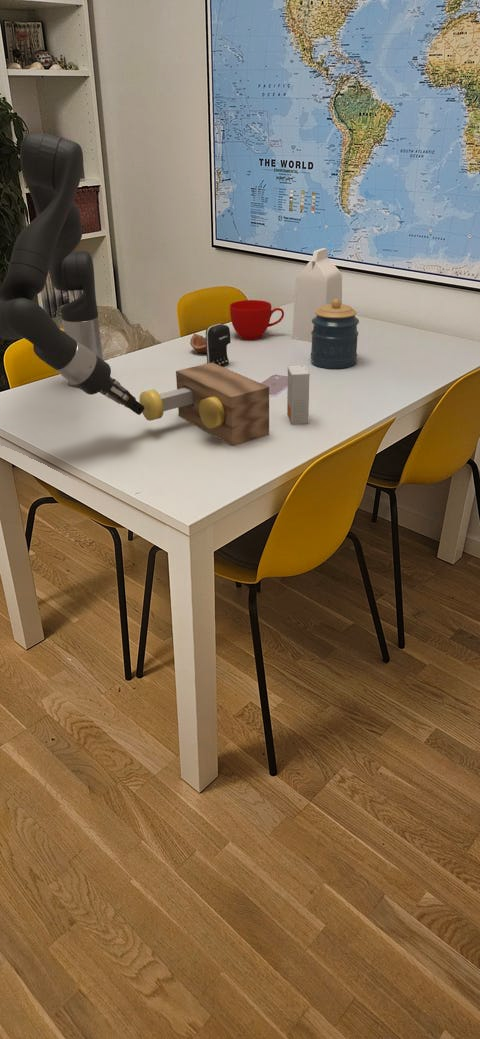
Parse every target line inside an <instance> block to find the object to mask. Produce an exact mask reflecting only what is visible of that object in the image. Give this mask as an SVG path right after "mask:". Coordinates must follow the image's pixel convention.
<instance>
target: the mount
mask: <svg viewBox="0 0 480 1039" xmlns="http://www.w3.org/2000/svg"><path fill="white" fill-rule="evenodd" d="M175 377H176V378H175V379H176V390H177V389H181V388H185V387H190V388H192V389H193V397H194V403H193V404H190V405H186V406H182V407H178V408H177V410H178V417H180V418H181V419H183V420H185V421H187V422H188V423H190V424H192V425H194V426H196V427H198V428H200V429H201V430H203V431H205V432H206V433H208V434H210V435H212V436H214V437H216V438H217V439H220V440H221V441H223V442H225V443H227V444H228V445H231V446H232V447H233V446H237V445H241V444H243V443H246V442H249V441H254V440H255V439H259V438H262V437H266V436H269V435H270V397H269V387H268V386H266V385H263V384H261V383H262V382H258V381H256V380H254V379H251V378H249V377H247V376H244V375H242V374H240V373H237V372H235V371H234V370H230V369H228V368H227V367H225V366H223V367H222V366H219V365H217V364H215V363H207V362H206V363H204V364H199V365H196V366H192V367H188V368H184V369H179V370H178V369H177V370H175Z"/></svg>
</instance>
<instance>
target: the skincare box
mask: <svg viewBox="0 0 480 1039" xmlns="http://www.w3.org/2000/svg"><path fill="white" fill-rule="evenodd" d="M287 376H288V388H287V390H286V391H287V393H286V394H287V396H286V398H287V401H286V402H287V403H286V404H287V405H286V406H287V410H286V411H287V412H286V414H287V417H288V420H289V422H290V425H300V424H301V425H302V424H303V425H304V424H305V425H307V424H309V416H310V415H309V412H310V411H309V409H310V372H309V370H308V368H307V366H306V365H288V366H287Z"/></svg>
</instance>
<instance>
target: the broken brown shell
mask: <svg viewBox="0 0 480 1039" xmlns="http://www.w3.org/2000/svg"><path fill="white" fill-rule="evenodd" d="M189 344H190V346H191V348H192V349H193V350H194V351H196V352H199V353H202V354H205V353H206V354H207V352H206V337H205V336H204V337H203V335H200V334H197V333H193V335H192V336H191V338H190V343H189Z"/></svg>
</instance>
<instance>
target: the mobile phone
mask: <svg viewBox="0 0 480 1039" xmlns="http://www.w3.org/2000/svg"><path fill="white" fill-rule="evenodd" d="M260 383H261V384H263V385H266V386H268V387H269V396H270V397H269V398H272V397H273V398H275V397H277V396H278V395H280V394H281V393H282V391H283V392H284V391H286V390H288V375H281V374H273V375H271V376H269V377H268V378H267V379H265V380H264V381H262V382H260ZM274 396H275V397H274Z"/></svg>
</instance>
